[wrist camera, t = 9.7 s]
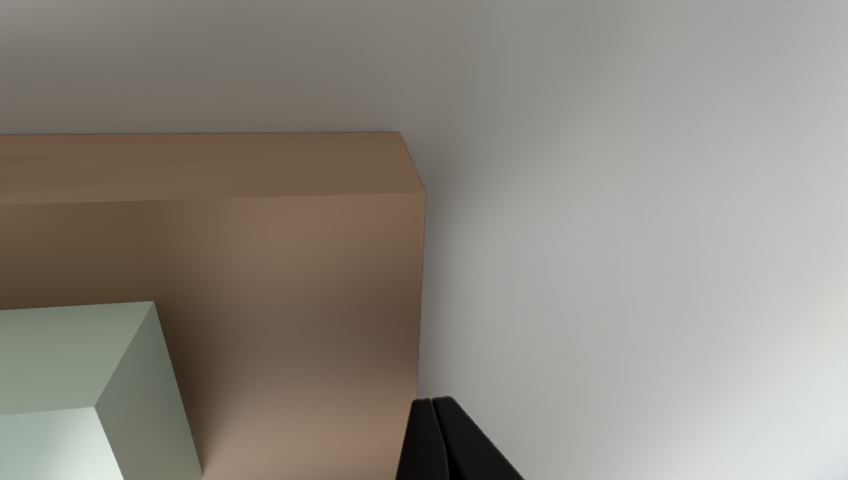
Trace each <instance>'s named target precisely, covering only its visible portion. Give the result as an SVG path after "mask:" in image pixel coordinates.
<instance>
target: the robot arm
mask: <svg viewBox="0 0 848 480" xmlns="http://www.w3.org/2000/svg"><path fill="white" fill-rule="evenodd" d="M395 480H524V479H523V477H522V476H521V475H520V474H519V473H518V472H517V471H516V469H515V468H514V467H513V466H512V465H511V464H510V463H509V461H508V460H507V459H506V458H505V457H504V456H503V455H502V453H501V452H500V451H499V450H498V449H497V448H496V447H495V445H494V444H493V443H492V442H491V441H490V440H489V439H488V437H487V436H486V435H485V434H484V433H483V432H482V431H481V429H480V428H479V427H478V426H477V425H476V424H475V423H474V421H473V420H472V419H471V418H470V417H469V416H468V415H467V413H466V412H465V411H464V410H463V409H462V408H461V407H460V405H459V404H458V403H457V402H456V401H455V400H454V399H453V398H452V397H450V396H445V397H435V398H433V399H432V400H431V399H430V398H425V399H415V400H413V401H412V403H411V407H410V412H409V417H408V421H407V426H406V431H405V435H404V440H403V444H402V449H401V454H400V458H399V463H398V468H397V472H396V477H395Z"/></svg>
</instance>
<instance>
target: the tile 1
mask: <svg viewBox="0 0 848 480" xmlns="http://www.w3.org/2000/svg"><path fill="white" fill-rule="evenodd" d="M202 479H203V474H202V470H201V466H200V463H199V459H198V456H197V452H196V449H195V445H194V442H193V438H192V435H191V431H190V427H189V424H188V420H187V417H186V413H185V410H184V406H183V403H182V399H181V396H180V392H179V389H178V385H177V381H176V378H175V374H174V371H173V367H172V364H171V360H170V357H169V353H168V350H167V346H166V342H165V339H164V335H163V332H162V328H161V325H160V321H159V318H158V314H157V311H156V307H155V304H154V301H146V302H129V303H113V304H97V305H80V306H64V307H47V308H31V309H15V310H0V480H202Z"/></svg>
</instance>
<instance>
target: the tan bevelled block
mask: <svg viewBox="0 0 848 480" xmlns="http://www.w3.org/2000/svg"><path fill="white" fill-rule="evenodd" d="M425 203H426V191H425V189H424V187H423V185H422V182H421V180H420V178H419V176H418V173H417V171H416V169H415V167H414V164H413V162H412V160H411V158H410V155H409V153H408V151H407V148H406V146H405V144H404V142H403V139H402V137H401V135H400V133H399V132H344V133H197V134H51V135H0V310H15V309H31V308H47V307H64V306H80V305H97V304H113V303H129V302H146V301H154V304H155V307H156V311H157V314H158V318H159V321H160V325H161V328H162V332H163V335H164V339H165V342H166V346H167V350H168V353H169V357H170V360H171V364H172V367H173V371H174V374H175V378H176V381H177V385H178V389H179V392H180V396H181V399H182V403H183V406H184V410H185V413H186V417H187V420H188V424H189V427H190V431H191V435H192V438H193V442H194V445H195V449H196V452H197V456H198V459H199V463H200V466H201V470H202V474H203V479H202V480H395V477H396V472H397V468H398V463H399V458H400V454H401V449H402V444H403V440H404V435H405V431H406V426H407V421H408V417H409V412H410V407H411V403H412V401H413V400H415V399H417V382H418V360H419V337H420V315H421V292H422V270H423V247H424V225H425Z"/></svg>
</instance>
